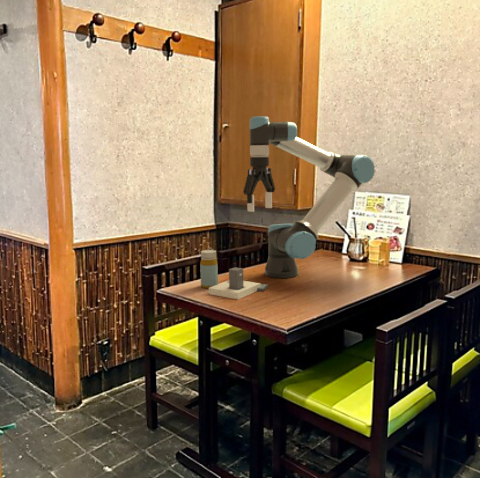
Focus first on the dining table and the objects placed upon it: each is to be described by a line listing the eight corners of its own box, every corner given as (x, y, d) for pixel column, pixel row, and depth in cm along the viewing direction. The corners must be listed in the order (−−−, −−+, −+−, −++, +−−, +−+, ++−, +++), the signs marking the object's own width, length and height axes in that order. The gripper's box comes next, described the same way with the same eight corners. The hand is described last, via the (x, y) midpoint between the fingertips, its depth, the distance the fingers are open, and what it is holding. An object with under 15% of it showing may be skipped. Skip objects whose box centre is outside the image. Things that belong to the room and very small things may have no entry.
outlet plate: (232, 284, 206) (232, 278, 206) (260, 289, 198) (260, 283, 198) (208, 294, 193) (208, 287, 193) (238, 299, 185) (238, 292, 185)
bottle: (210, 283, 209) (209, 248, 206) (221, 286, 204) (220, 251, 201) (197, 286, 204) (196, 251, 201) (208, 289, 199) (207, 253, 196)
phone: (260, 286, 203) (260, 283, 203) (268, 286, 202) (268, 284, 202) (255, 290, 196) (255, 288, 196) (263, 291, 195) (263, 288, 195)
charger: (235, 291, 196) (234, 267, 194) (244, 293, 193) (243, 268, 192) (229, 294, 192) (228, 269, 191) (238, 295, 190) (237, 270, 188)
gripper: (267, 156, 207) (267, 206, 211) (233, 157, 187) (234, 212, 190) (283, 155, 203) (283, 206, 207) (250, 156, 183) (251, 213, 186)
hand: (260, 209), depth 199 cm, fingers open, 13 cm apart
